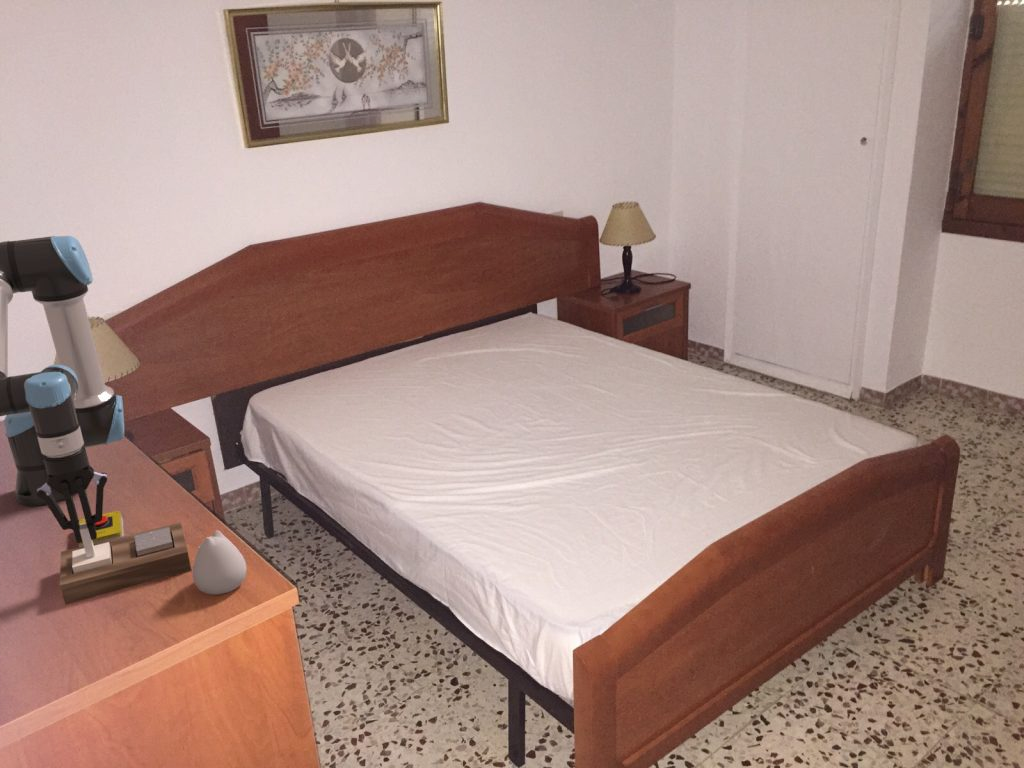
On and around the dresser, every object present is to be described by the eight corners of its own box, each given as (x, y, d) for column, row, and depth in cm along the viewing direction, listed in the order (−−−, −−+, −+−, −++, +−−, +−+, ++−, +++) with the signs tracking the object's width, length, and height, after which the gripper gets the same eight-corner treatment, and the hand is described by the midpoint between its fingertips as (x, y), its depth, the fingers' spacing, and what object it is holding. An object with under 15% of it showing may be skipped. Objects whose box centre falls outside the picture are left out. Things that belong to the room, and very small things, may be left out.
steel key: (137, 549, 179) (134, 535, 178) (172, 540, 182) (169, 527, 180) (139, 565, 173) (136, 551, 172) (175, 555, 176) (172, 541, 174)
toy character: (219, 566, 175) (209, 517, 171) (259, 576, 171) (250, 525, 167) (184, 594, 166) (172, 542, 162) (225, 604, 163) (215, 552, 158)
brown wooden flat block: (66, 569, 177) (60, 551, 175) (184, 539, 186) (180, 522, 185) (65, 604, 165) (59, 585, 163) (191, 570, 175) (187, 551, 173)
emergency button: (119, 502, 196) (121, 531, 183) (123, 518, 198) (125, 548, 185) (76, 512, 192) (75, 542, 180) (80, 528, 194) (80, 560, 181)
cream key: (76, 565, 174) (72, 551, 173) (112, 555, 177) (109, 542, 176) (76, 581, 168) (72, 567, 167) (113, 572, 171) (110, 557, 170)
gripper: (25, 465, 157) (55, 571, 165) (100, 449, 162) (125, 553, 171) (27, 450, 163) (56, 553, 172) (99, 436, 168) (124, 536, 177)
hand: (90, 553), depth 171 cm, fingers closed
